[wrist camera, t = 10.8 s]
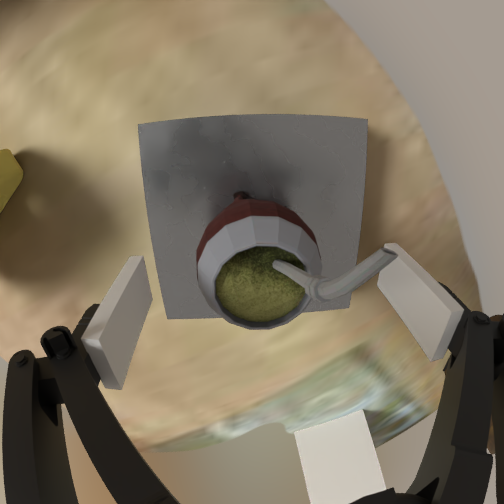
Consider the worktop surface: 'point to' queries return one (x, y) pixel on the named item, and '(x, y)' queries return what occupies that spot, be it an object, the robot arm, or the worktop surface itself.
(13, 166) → the plastic component
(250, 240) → the mate gourd
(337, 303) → the stand
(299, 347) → the worktop surface
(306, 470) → the milk
